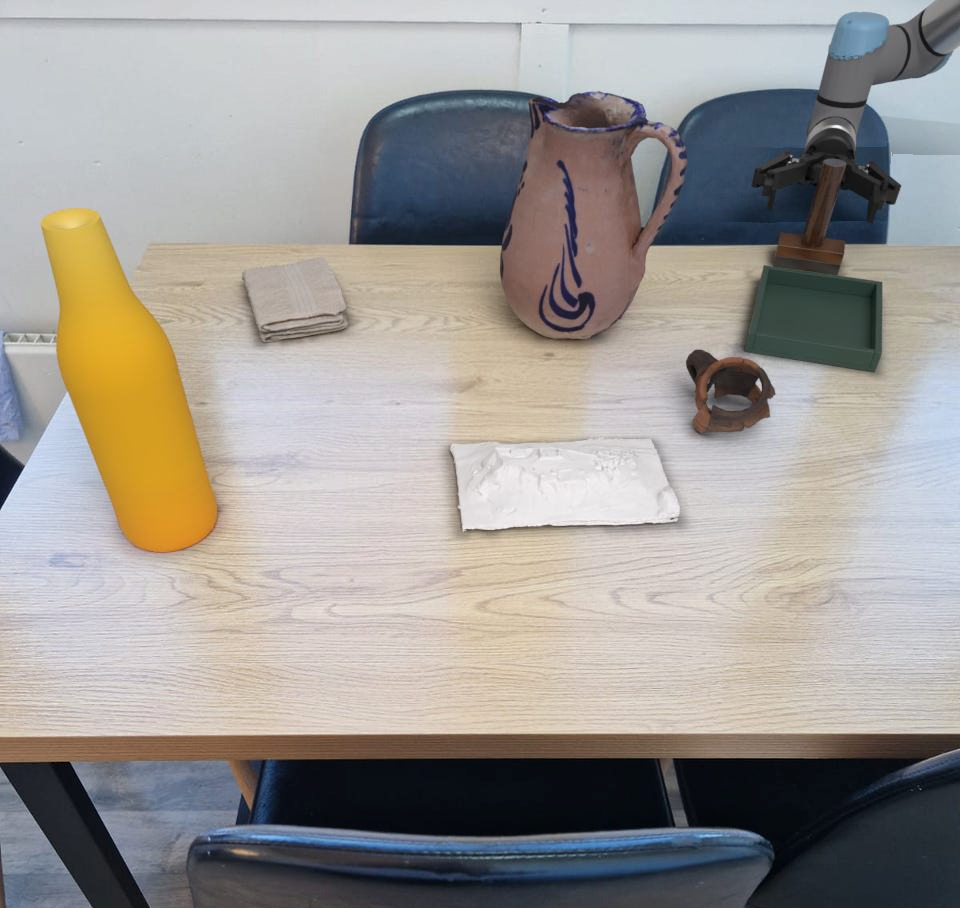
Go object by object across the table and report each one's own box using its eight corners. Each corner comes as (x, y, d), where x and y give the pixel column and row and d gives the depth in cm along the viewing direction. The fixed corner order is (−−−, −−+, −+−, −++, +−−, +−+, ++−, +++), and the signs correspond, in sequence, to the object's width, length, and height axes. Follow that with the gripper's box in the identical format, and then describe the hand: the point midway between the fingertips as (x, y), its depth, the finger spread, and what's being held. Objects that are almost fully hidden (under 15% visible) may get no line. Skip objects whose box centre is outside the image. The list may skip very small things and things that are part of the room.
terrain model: (693, 530, 86) (705, 490, 82) (467, 552, 82) (470, 510, 79) (640, 434, 97) (649, 394, 93) (438, 449, 93) (439, 408, 89)
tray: (876, 299, 117) (882, 281, 115) (874, 372, 104) (882, 353, 103) (759, 282, 120) (763, 265, 118) (744, 351, 108) (749, 332, 106)
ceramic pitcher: (524, 282, 120) (533, 74, 101) (673, 310, 115) (712, 96, 96) (478, 342, 109) (479, 120, 90) (641, 375, 104) (678, 148, 85)
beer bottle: (104, 545, 83) (-25, 237, 61) (153, 487, 89) (52, 188, 67) (191, 563, 81) (90, 253, 59) (236, 503, 87) (158, 202, 65)
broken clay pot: (785, 419, 98) (798, 382, 90) (724, 474, 98) (731, 442, 90) (710, 355, 102) (715, 313, 94) (650, 408, 102) (651, 371, 94)
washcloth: (262, 347, 108) (257, 324, 105) (240, 284, 119) (236, 261, 117) (355, 332, 110) (352, 309, 108) (325, 272, 122) (322, 249, 119)
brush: (838, 261, 125) (870, 160, 115) (837, 275, 122) (870, 172, 112) (775, 253, 127) (801, 152, 117) (772, 266, 124) (799, 164, 114)
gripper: (905, 189, 133) (906, 246, 119) (741, 170, 138) (724, 222, 124) (924, 136, 127) (927, 188, 114) (752, 117, 132) (736, 166, 119)
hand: (821, 206), depth 119 cm, fingers open, 13 cm apart
